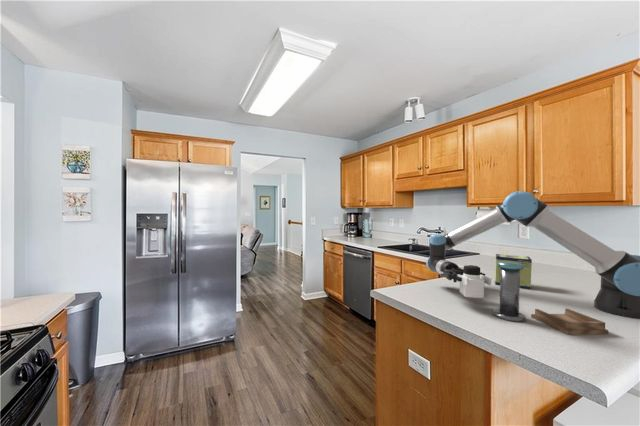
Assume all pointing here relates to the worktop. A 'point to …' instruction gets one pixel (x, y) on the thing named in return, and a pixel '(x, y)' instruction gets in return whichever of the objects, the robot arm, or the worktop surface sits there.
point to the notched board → (571, 322)
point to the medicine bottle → (472, 282)
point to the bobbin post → (509, 292)
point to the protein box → (524, 273)
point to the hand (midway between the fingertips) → (479, 281)
